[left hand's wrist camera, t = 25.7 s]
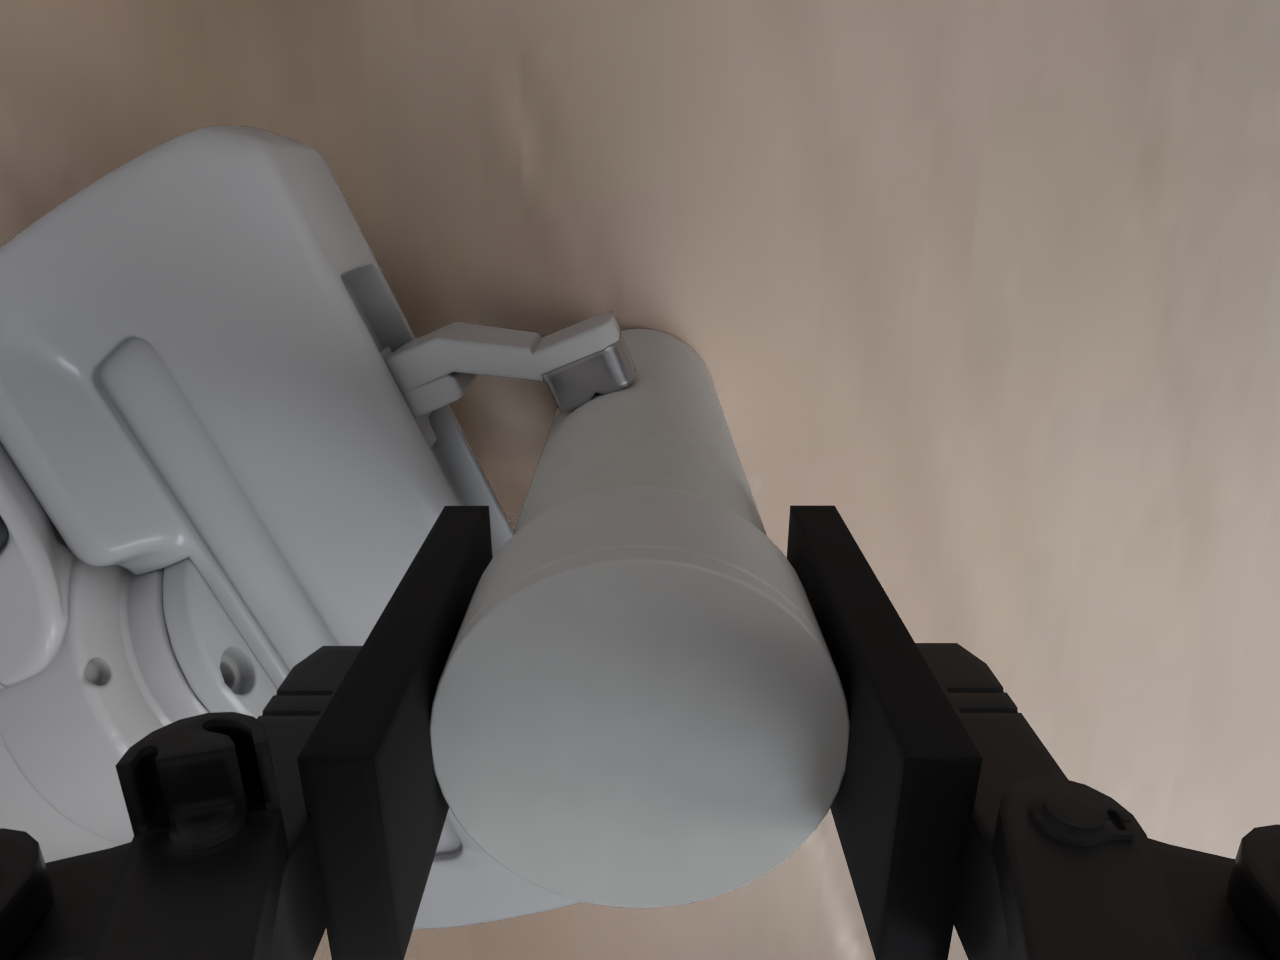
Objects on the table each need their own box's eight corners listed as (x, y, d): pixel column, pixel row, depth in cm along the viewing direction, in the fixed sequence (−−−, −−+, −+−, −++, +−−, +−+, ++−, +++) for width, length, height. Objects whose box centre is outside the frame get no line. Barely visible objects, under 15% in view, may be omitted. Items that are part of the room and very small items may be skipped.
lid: (799, 462, 11) (838, 531, 9) (824, 768, 13) (861, 887, 11) (430, 512, 12) (382, 592, 9) (504, 806, 13) (477, 928, 11)
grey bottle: (698, 312, 25) (782, 511, 10) (728, 457, 26) (839, 809, 12) (546, 347, 25) (417, 589, 10) (585, 489, 27) (519, 868, 12)
